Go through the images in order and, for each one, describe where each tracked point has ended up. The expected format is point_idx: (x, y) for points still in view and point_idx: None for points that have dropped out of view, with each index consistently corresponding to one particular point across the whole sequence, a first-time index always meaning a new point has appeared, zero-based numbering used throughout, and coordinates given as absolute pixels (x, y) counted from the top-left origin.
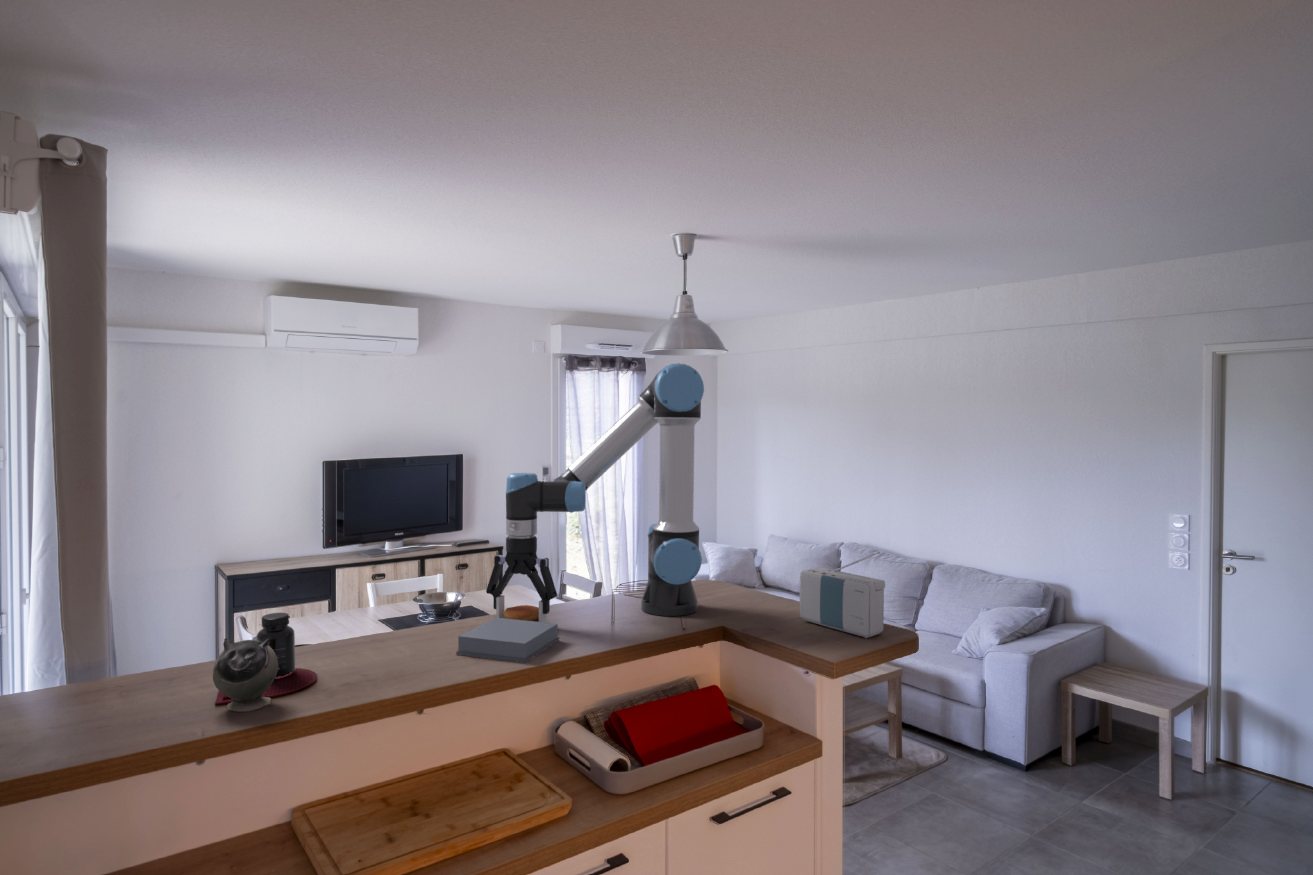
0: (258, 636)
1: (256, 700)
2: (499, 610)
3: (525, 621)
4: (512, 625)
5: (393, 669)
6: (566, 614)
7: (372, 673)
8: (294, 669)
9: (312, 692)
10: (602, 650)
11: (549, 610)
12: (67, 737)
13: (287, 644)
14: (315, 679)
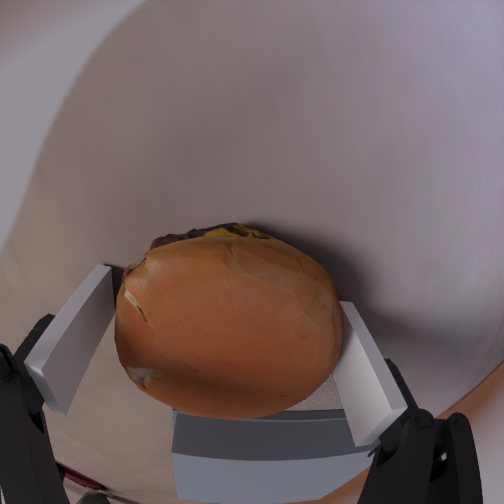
0: None
1: (105, 496)
2: (90, 353)
3: (297, 462)
4: (266, 479)
5: (135, 482)
6: (416, 68)
7: (124, 483)
8: (59, 469)
9: (118, 492)
10: (448, 406)
11: (396, 369)
12: (69, 488)
13: None
14: (90, 478)
